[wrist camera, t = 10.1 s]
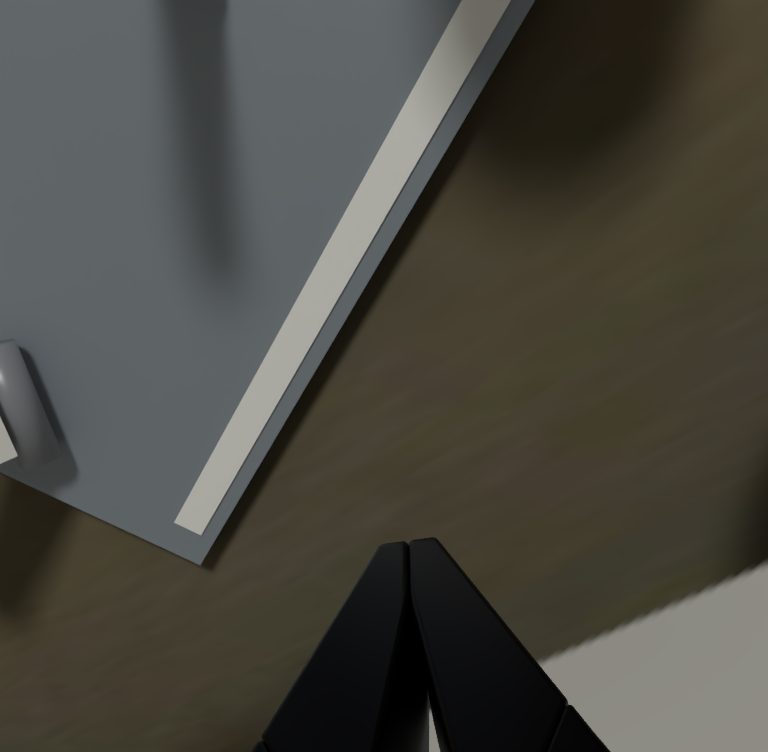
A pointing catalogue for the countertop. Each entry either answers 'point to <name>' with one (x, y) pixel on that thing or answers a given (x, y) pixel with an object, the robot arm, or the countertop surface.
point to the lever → (22, 414)
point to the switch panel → (207, 221)
